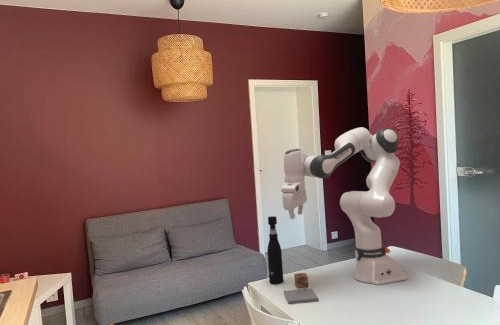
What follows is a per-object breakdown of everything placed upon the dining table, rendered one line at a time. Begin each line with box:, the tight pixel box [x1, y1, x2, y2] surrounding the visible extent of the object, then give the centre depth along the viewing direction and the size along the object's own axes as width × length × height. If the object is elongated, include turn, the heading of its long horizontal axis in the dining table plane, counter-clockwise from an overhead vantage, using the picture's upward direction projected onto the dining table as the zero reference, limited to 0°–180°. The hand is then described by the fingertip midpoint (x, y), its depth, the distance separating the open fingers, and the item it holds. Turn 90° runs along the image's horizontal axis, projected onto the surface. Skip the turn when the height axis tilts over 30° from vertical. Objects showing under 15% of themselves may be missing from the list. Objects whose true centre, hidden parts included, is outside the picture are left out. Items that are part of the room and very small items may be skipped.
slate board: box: [283, 287, 320, 305], centre depth 154 cm, size 12×11×1 cm
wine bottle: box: [267, 215, 284, 285], centre depth 173 cm, size 6×6×30 cm
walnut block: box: [293, 272, 310, 290], centre depth 166 cm, size 5×5×5 cm
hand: (296, 216), depth 169 cm, fingers open, 8 cm apart
